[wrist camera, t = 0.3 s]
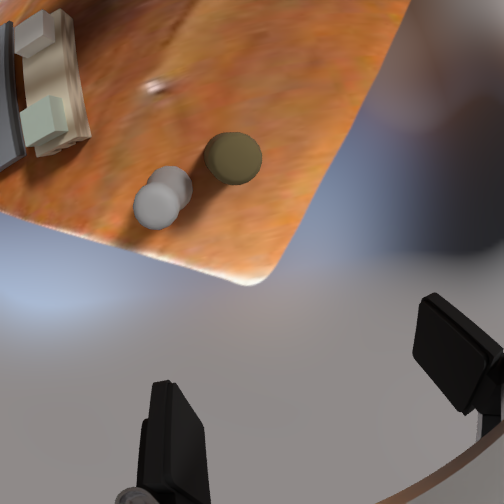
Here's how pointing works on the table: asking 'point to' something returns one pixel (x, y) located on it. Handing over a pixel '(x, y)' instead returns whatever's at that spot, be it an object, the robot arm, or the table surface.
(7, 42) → the dock
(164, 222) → the salt shaker
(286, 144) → the table surface
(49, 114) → the block
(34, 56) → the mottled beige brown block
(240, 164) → the pepper shaker
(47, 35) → the white cube
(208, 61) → the table surface
